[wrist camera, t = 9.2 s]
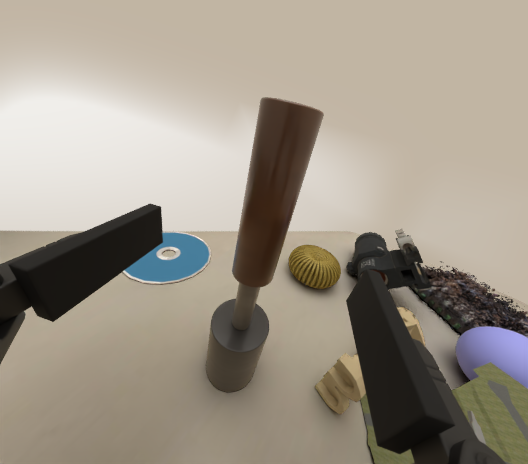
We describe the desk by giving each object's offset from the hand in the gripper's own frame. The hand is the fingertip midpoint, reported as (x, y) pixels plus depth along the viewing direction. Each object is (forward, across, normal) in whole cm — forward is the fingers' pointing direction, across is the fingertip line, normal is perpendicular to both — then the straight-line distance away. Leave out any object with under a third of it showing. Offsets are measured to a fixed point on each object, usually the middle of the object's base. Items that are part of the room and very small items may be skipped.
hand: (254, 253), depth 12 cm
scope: (+20, +22, -4) cm, 29 cm away
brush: (-1, 0, -12) cm, 12 cm away
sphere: (+2, +26, -9) cm, 28 cm away
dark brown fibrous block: (+17, +32, -12) cm, 38 cm away
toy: (-1, +9, -9) cm, 13 cm away
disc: (+6, -9, -12) cm, 16 cm away
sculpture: (+12, +10, -10) cm, 19 cm away
